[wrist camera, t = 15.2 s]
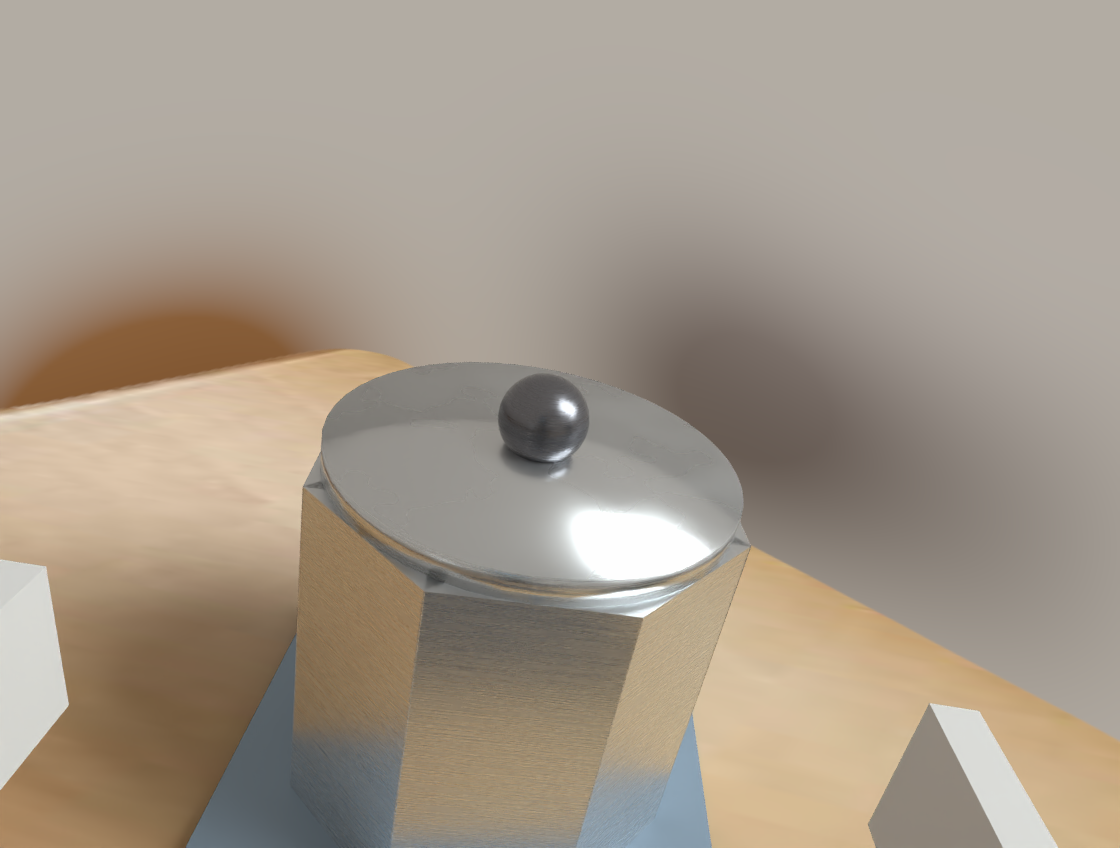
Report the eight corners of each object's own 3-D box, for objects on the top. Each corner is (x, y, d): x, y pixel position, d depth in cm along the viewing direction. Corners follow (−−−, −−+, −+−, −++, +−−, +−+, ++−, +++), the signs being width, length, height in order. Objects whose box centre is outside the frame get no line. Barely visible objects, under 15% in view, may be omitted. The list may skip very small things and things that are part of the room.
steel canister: (626, 642, 34) (713, 336, 27) (672, 926, 23) (833, 529, 17) (346, 609, 32) (371, 280, 26) (255, 895, 21) (261, 450, 15)
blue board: (681, 675, 33) (685, 665, 33) (733, 1055, 21) (739, 1044, 20) (312, 611, 33) (312, 600, 32) (133, 964, 20) (131, 951, 20)
